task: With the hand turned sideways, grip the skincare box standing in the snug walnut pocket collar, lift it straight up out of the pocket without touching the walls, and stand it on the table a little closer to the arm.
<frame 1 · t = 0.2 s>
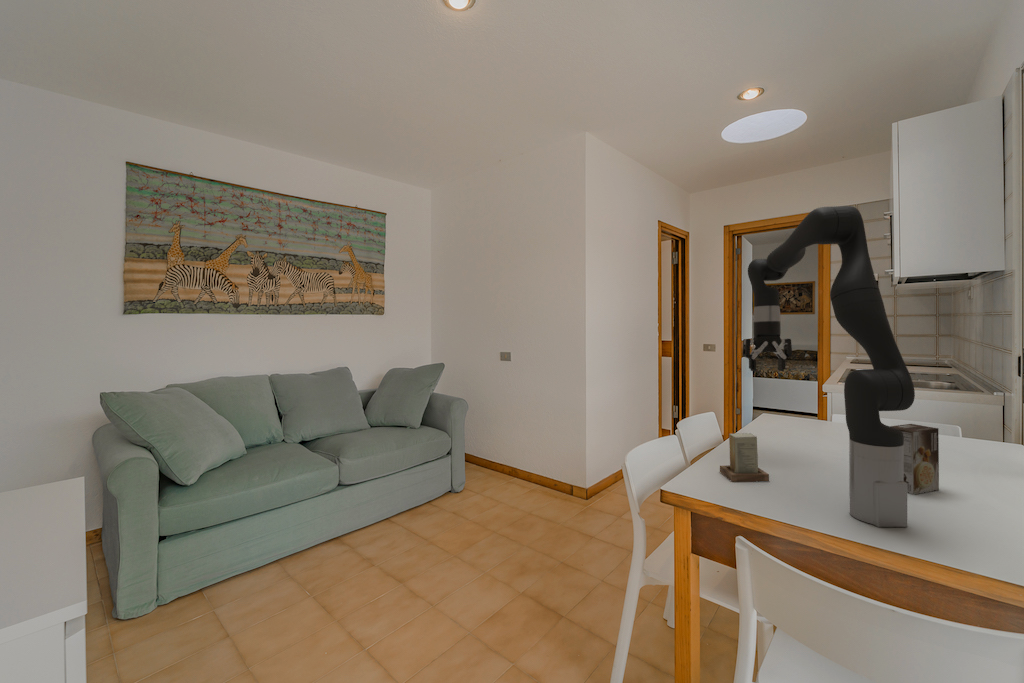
hand: (767, 370, 139), 28 cm above the table, tool pointing down, fingers open, 8 cm apart
coffee box: (912, 489, 112), on the table
pocket collar: (743, 476, 124), on the table
skincare box: (743, 477, 124), resting in pocket collar
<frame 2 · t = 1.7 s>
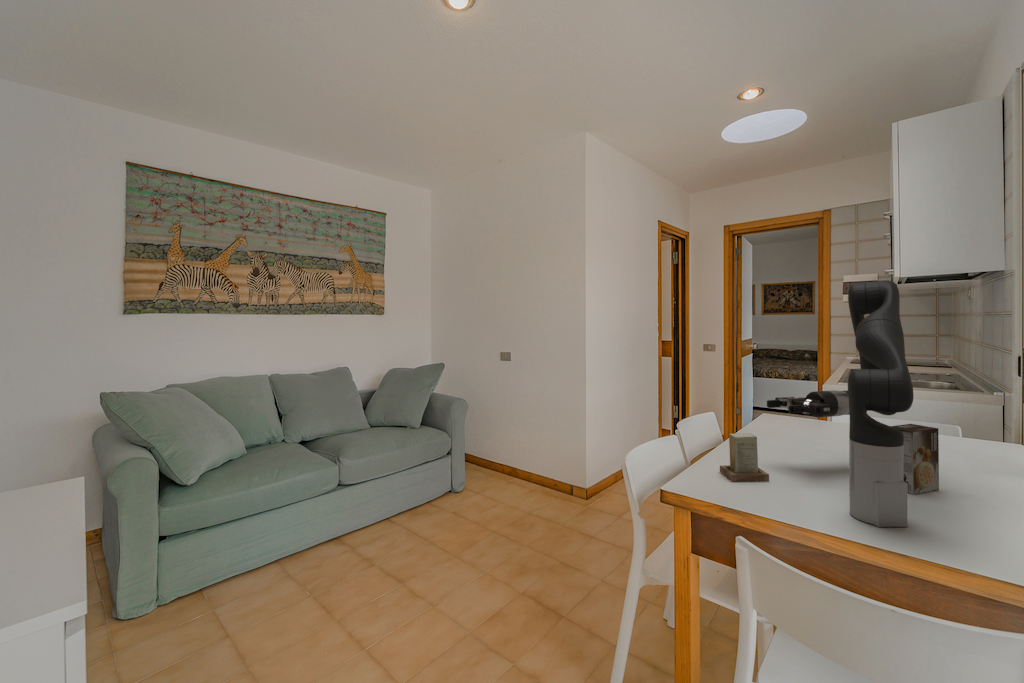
hand: (778, 406, 125), 20 cm above the table, tool horizontal, fingers open, 8 cm apart
nothing on the table moved.
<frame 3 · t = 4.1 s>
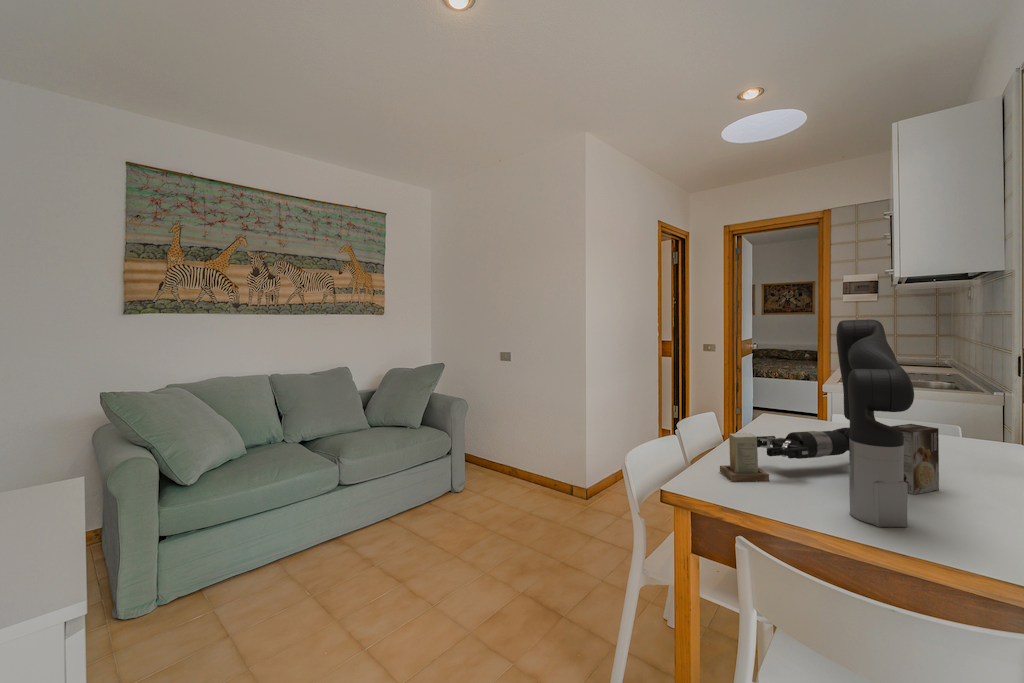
hand: (757, 447, 124), 8 cm above the table, tool horizontal, fingers open, 8 cm apart
nothing on the table moved.
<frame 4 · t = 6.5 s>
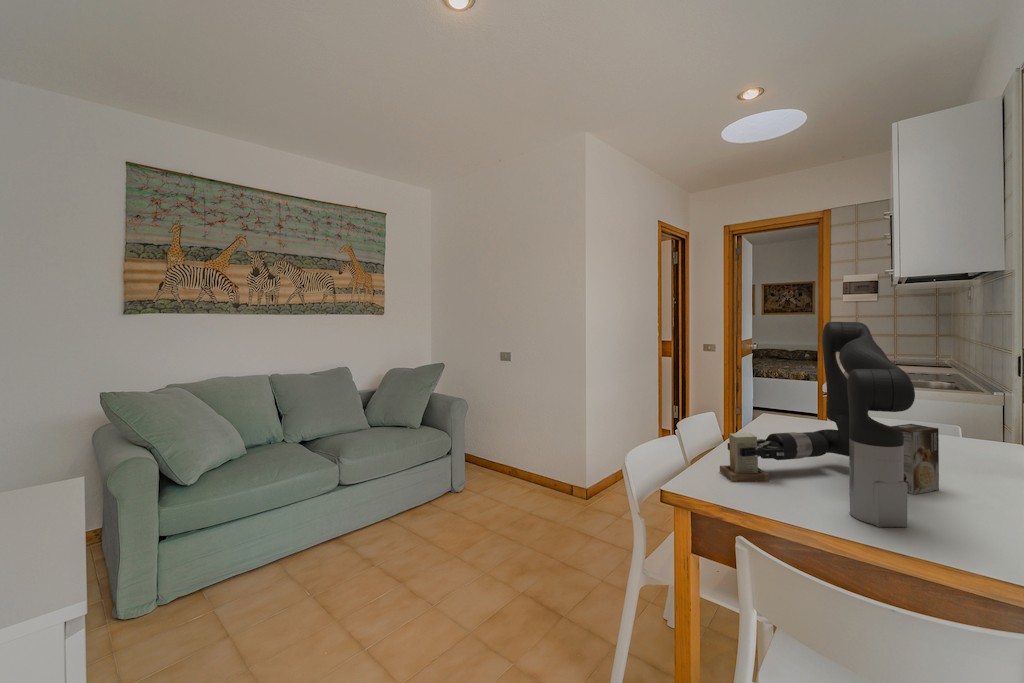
hand: (734, 449, 124), 8 cm above the table, tool horizontal, fingers closed on skincare box, 5 cm apart
skincare box: (743, 477, 124), resting in pocket collar, touching gripper
everything else where it was.
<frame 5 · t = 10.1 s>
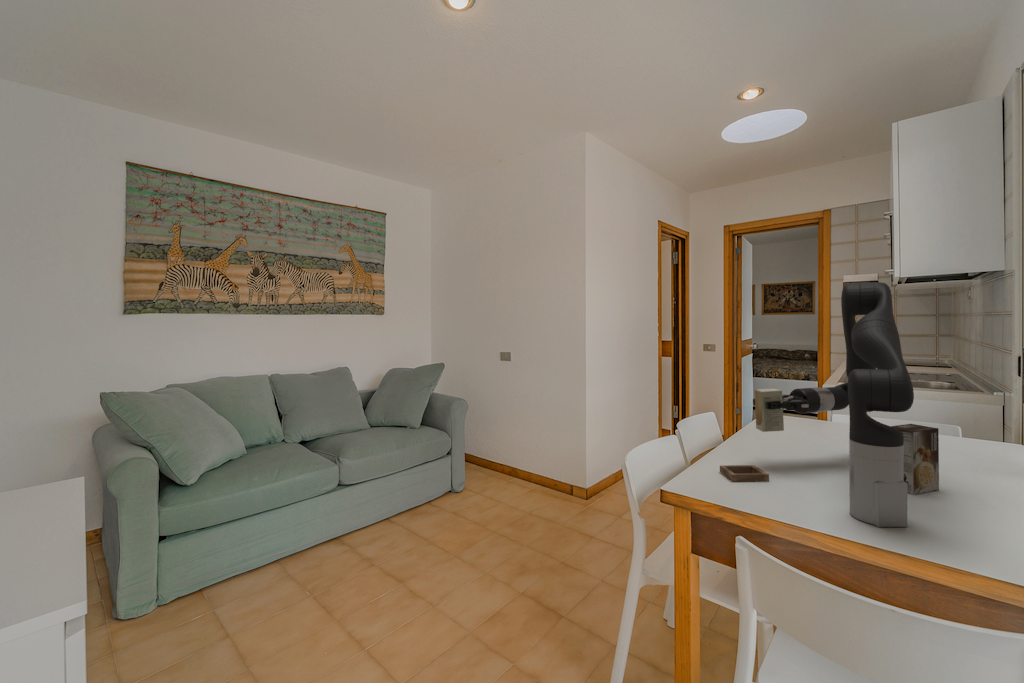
hand: (760, 403, 129), 20 cm above the table, tool horizontal, fingers closed on skincare box, 5 cm apart
skincare box: (769, 430, 130), point 12 cm above the table, touching gripper
everything else where it was.
when the fingers open (9 cm above the table, at t = 13.8 s): skincare box drops 1 cm, on the table.
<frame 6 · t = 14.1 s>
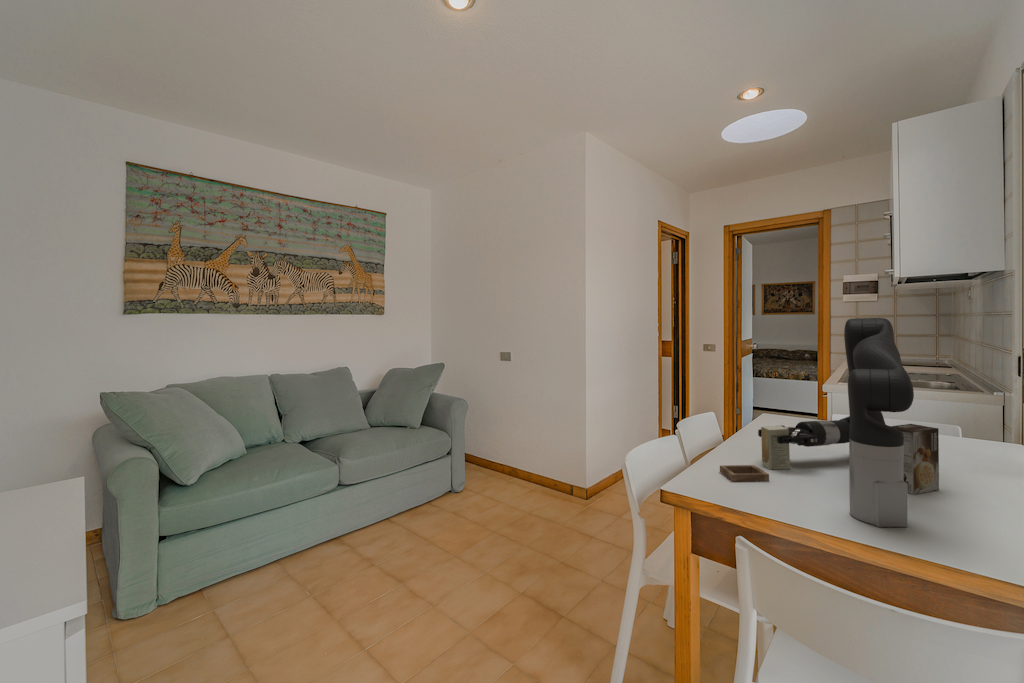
hand: (768, 436, 131), 9 cm above the table, tool horizontal, fingers open, 7 cm apart
skincare box: (775, 467, 131), on the table
everything else where it was.
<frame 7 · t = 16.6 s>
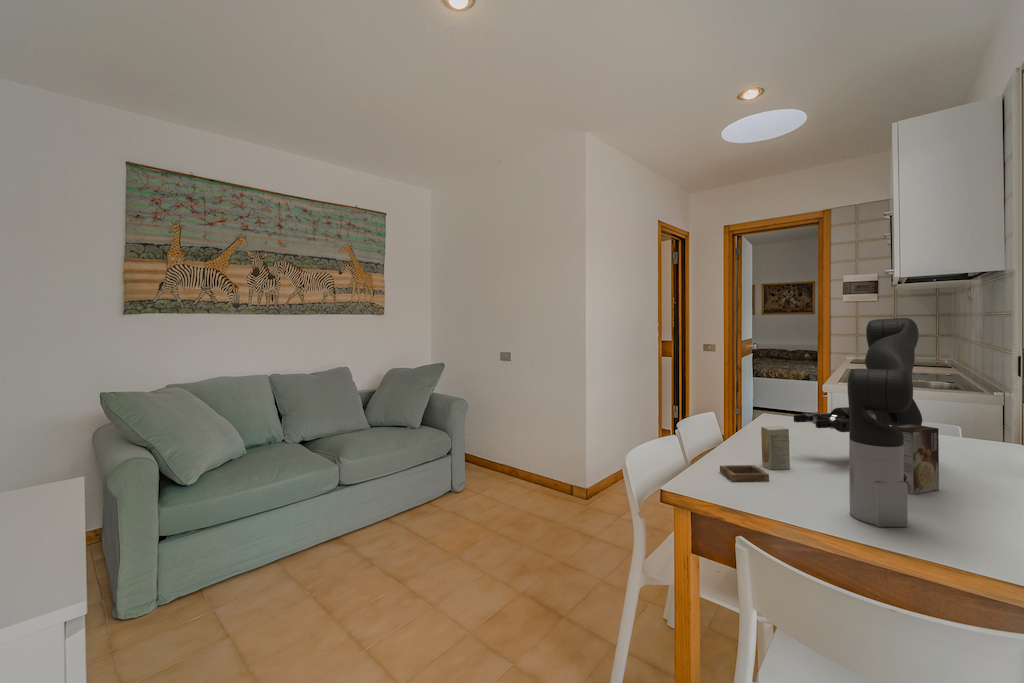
hand: (805, 421, 132), 13 cm above the table, tool horizontal, fingers open, 8 cm apart
nothing on the table moved.
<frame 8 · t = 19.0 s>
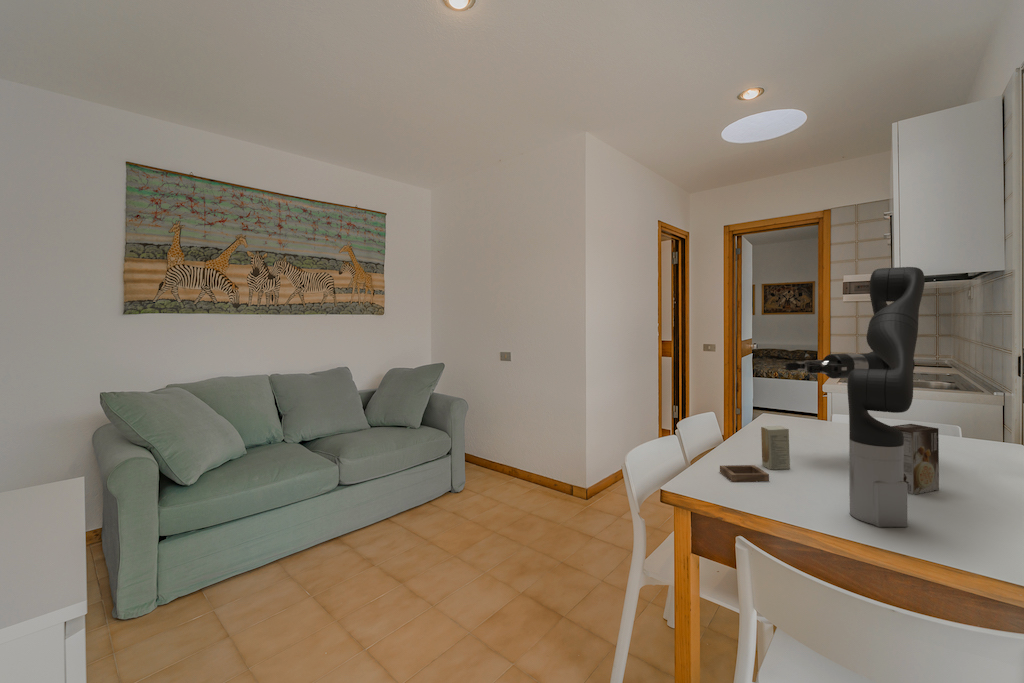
hand: (796, 367, 131), 30 cm above the table, tool horizontal, fingers open, 8 cm apart
nothing on the table moved.
at the end: skincare box inside the target area (0.1 cm from its centre), on the table; skincare box tilted 0°; the gripper is holding nothing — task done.
